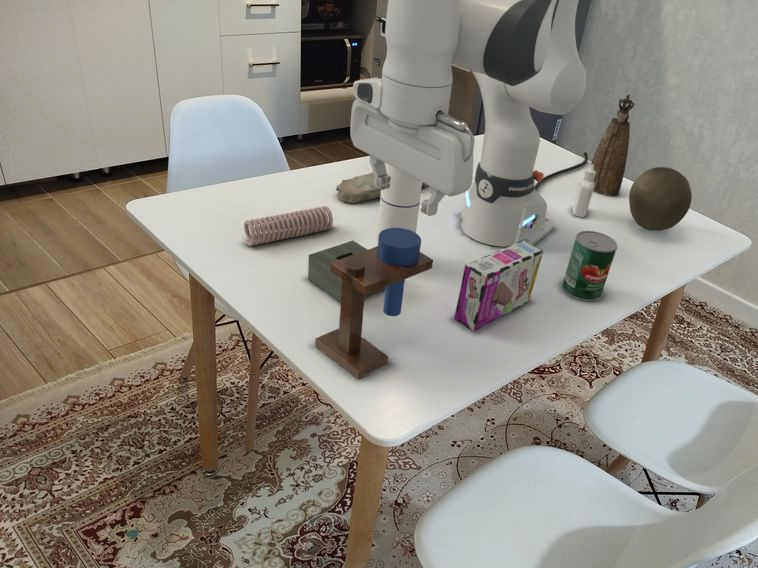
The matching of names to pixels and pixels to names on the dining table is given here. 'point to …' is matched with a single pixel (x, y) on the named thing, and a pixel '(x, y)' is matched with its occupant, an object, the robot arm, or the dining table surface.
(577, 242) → the canned tomato
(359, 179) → the elongated rock
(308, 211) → the coil
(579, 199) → the eye dropper bottle
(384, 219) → the cylindrical container
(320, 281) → the holder
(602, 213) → the dining table surface
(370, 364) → the stand
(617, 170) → the statue
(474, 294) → the candy bar box
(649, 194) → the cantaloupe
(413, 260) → the peg
